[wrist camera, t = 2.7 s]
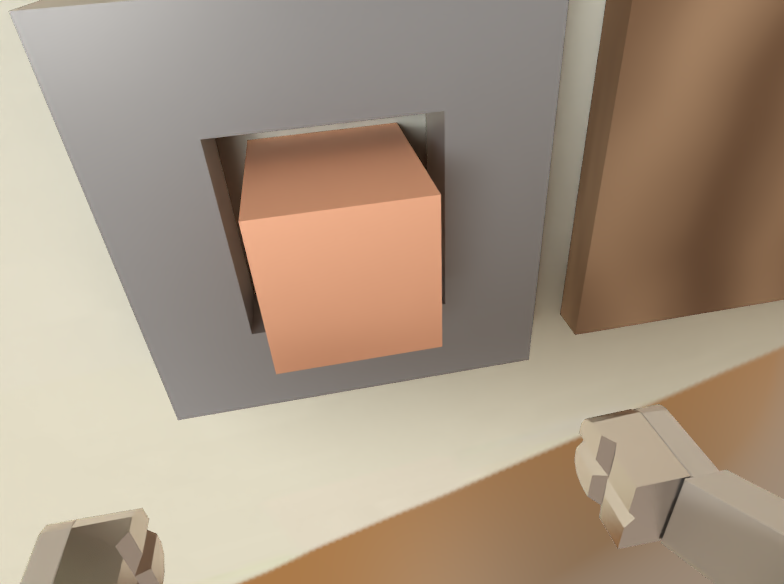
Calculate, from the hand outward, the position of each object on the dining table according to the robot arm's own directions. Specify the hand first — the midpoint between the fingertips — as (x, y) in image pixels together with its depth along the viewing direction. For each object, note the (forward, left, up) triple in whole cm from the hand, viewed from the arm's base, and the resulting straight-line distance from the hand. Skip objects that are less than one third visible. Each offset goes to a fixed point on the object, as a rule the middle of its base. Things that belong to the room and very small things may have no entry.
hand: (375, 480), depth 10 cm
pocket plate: (0, 0, -12) cm, 12 cm away
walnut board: (-16, -1, -12) cm, 20 cm away
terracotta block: (0, 0, -12) cm, 12 cm away
